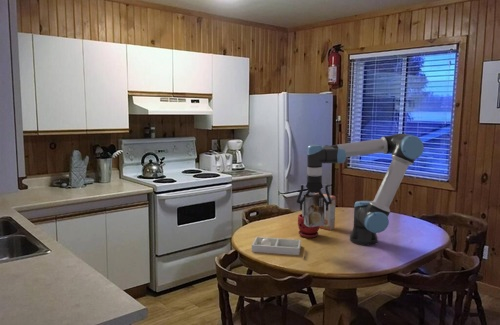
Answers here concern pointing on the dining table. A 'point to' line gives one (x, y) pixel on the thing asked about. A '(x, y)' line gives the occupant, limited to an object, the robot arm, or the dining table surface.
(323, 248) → the dining table surface
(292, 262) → the dining table surface
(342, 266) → the dining table surface
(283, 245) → the divided tray
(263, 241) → the egg
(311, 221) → the coffee box
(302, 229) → the plant pot
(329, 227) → the cracker box
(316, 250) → the dining table surface
